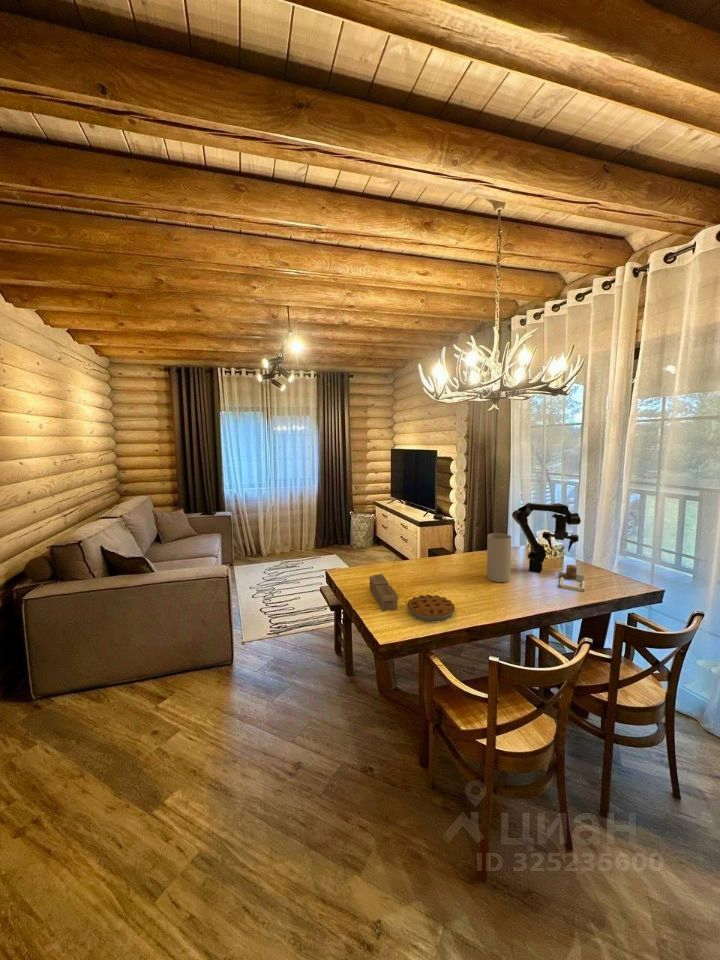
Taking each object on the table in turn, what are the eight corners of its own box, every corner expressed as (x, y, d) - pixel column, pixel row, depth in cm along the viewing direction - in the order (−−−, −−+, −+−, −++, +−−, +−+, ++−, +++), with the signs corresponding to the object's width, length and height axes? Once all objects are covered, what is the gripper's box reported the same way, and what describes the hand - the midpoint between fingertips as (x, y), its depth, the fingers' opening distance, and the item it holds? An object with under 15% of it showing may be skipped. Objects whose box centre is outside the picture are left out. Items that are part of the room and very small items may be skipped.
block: (565, 577, 209) (566, 567, 208) (566, 574, 213) (566, 564, 213) (576, 578, 206) (576, 568, 206) (576, 576, 211) (576, 565, 210)
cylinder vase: (504, 574, 216) (505, 532, 213) (514, 582, 204) (515, 538, 201) (483, 575, 216) (484, 533, 213) (491, 583, 203) (492, 539, 201)
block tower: (369, 590, 201) (382, 613, 172) (368, 575, 200) (381, 595, 172) (383, 588, 202) (398, 611, 174) (382, 573, 202) (398, 593, 173)
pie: (463, 620, 164) (463, 610, 163) (417, 627, 159) (417, 616, 158) (442, 600, 185) (442, 590, 184) (401, 605, 180) (400, 595, 180)
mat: (558, 578, 209) (558, 577, 209) (560, 572, 217) (560, 572, 217) (583, 582, 202) (583, 581, 202) (583, 576, 211) (583, 575, 211)
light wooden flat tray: (559, 587, 197) (559, 584, 196) (561, 579, 207) (561, 576, 207) (584, 591, 190) (584, 588, 190) (584, 583, 201) (584, 580, 201)
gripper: (541, 526, 217) (540, 551, 219) (578, 529, 207) (577, 556, 209) (543, 522, 226) (542, 547, 228) (579, 525, 216) (578, 551, 218)
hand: (559, 550), depth 220 cm, fingers open, 9 cm apart
